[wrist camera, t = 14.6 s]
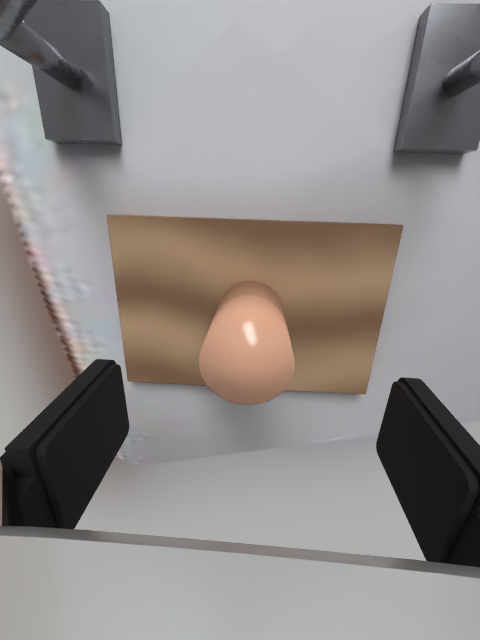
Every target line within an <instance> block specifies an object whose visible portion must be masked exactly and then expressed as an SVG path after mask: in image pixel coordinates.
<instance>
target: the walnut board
mask: <svg viewBox="0 0 480 640" xmlns="http://www.w3.org/2000/svg"><path fill="white" fill-rule="evenodd" d="M107 222H108V230H109V238H110V246H111V253H112V261H113V269H114V277H115V285H116V293H117V301H118V308H119V316H120V324H121V332H122V340H123V348H124V356H125V363H126V371H127V379H128V381H133V382H151V383H169V384H188V385H206V383H205V382H204V380H203V378H202V375H201V373H200V369H199V355H200V351H201V348H202V346H203V343H204V340H205V338H206V335H207V333H208V330H209V328H210V325H211V323H212V320H213V317H214V315H215V312H216V310H217V307H218V305H219V302H220V300H221V298H222V296H223V294H224V293H225V292H226V291H227V290H228V289H229V288H230V287H231V286H233V285H235V284H237V283H239V282H243V281H257V282H261V283H264V284H266V285H268V286H269V287H271V288H272V289H273V290H274V291H275V292H276V293H277V295H278V296H279V298H280V300H281V302H282V306H283V311H284V315H285V319H286V324H287V328H288V332H289V337H290V341H291V346H292V350H293V354H294V360H295V369H294V374H293V376H292V379H291V381H290V383H289V384H288V386H287V387H286V388H285V390H297V391H315V392H334V393H352V394H366V390H367V386H368V381H369V377H370V373H371V368H372V364H373V359H374V355H375V350H376V346H377V341H378V337H379V332H380V328H381V323H382V319H383V314H384V310H385V305H386V301H387V296H388V292H389V287H390V283H391V278H392V274H393V269H394V265H395V260H396V256H397V251H398V247H399V242H400V238H401V233H402V229H403V225H395V224H367V223H338V222H309V221H280V220H252V219H223V218H194V217H166V216H137V215H107ZM206 386H207V385H206Z"/></svg>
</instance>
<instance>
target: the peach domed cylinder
mask: <svg viewBox="0 0 480 640" xmlns="http://www.w3.org/2000/svg"><path fill="white" fill-rule="evenodd" d="M199 369H200V373H201V375H202V378H203V380H204V382H205V383H206V385H207V386H208V387H209V388H210V389H211V390H212V391H213V392H214V393H215V394H216V395H218V396H219V397H221V398H223V399H225V400H227V401H230V402H232V403H237V404H243V405H253V404H259V403H263V402H266V401H269V400H271V399H273V398H275V397H276V396H278V395H279V394H280V393H282V392H283V391H284V390H285V388H286V387H287V386H288V384H289V383H290V381H291V379H292V376H293V374H294V369H295V360H294V354H293V350H292V346H291V341H290V337H289V332H288V328H287V324H286V319H285V315H284V311H283V306H282V302H281V300H280V298H279V296H278V295H277V293H276V292H275V291H274V290H273V289H272V288H271V287H269V286H268V285H266V284H264V283H261V282H257V281H243V282H239V283H237V284H235V285H233V286H231V287H230V288H229V289H228V290H227V291H226V292H225V293H224V294H223V296H222V298H221V300H220V302H219V305H218V307H217V310H216V312H215V315H214V317H213V320H212V323H211V325H210V328H209V330H208V333H207V335H206V338H205V340H204V343H203V346H202V348H201V351H200V355H199Z"/></svg>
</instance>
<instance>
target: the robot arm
mask: <svg viewBox="0 0 480 640" xmlns="http://www.w3.org/2000/svg"><path fill="white" fill-rule="evenodd" d="M128 431H129V421H128V414H127V407H126V400H125V393H124V386H123V380H122V373H121V367H120V365H118V364H116V362H115V361H114V360H103V359H96V360H95V361H94V362H93V363H92V364H91V365H90V366H88V367H87V368H86V369H85V370H84V371H83V372H82V373H81V374H80V375H79V376H78V377H77V378H76V379H75V380H74V381H73V382H72V383H71V384H70V385H69V386H68V387H67V388H66V389H65V390H64V391H63V392H62V393H61V394H60V395H59V396H58V397H57V398H56V399H55V400H54V401H53V402H52V403H50V405H48V406H47V407H46V408H45V409H44V410H43V411H42V412H41V413H40V414H39V415H38V416H37V417H36V418H35V419H34V420H33V421H32V422H31V423H30V424H29V425H28V426H27V427H26V428H25V429H24V430H23V431H22V432H21V433H20V434H19V435H18V436H17V437H16V438H15V439H14V440H13V441H12V442H10V443H9V444H8V445H7V446H6V448H5V451H6V452H5V453H4V454H3V455H2V456H1V457H0V640H480V445H479V444H478V443H477V442H476V441H475V440H474V439H473V437H471V435H470V434H469V433H468V432H467V431H466V430H465V428H464V427H463V426H462V425H461V424H460V423H459V422H458V421H457V419H456V418H455V417H454V416H453V415H452V414H451V413H450V411H449V410H448V409H447V408H446V407H445V406H444V405H443V404H442V402H441V401H440V400H439V399H438V398H437V397H436V396H435V395H434V393H433V392H432V391H431V390H430V389H429V388H428V387H427V386H426V384H425V383H424V382H423V381H422V380H421V379H416V378H400V379H399V380H398V382H394V383H393V385H392V388H391V391H390V395H389V399H388V402H387V406H386V410H385V413H384V417H383V421H382V424H381V428H380V432H379V435H378V439H377V443H376V448H377V453H378V455H379V458H380V460H381V462H382V465H383V467H384V469H385V471H386V473H387V475H388V477H389V480H390V482H391V484H392V486H393V489H394V491H395V493H396V495H397V497H398V500H399V502H400V504H401V506H402V508H403V511H404V513H405V515H406V517H407V519H408V521H409V523H410V526H411V528H412V530H413V532H414V534H415V537H416V539H417V541H418V543H419V545H420V548H421V550H422V552H423V554H424V557H425V558H426V560H427V561H420V560H411V559H400V558H390V557H380V556H369V555H359V554H349V553H338V552H328V551H318V550H307V549H295V548H285V547H274V546H263V545H252V544H241V543H230V542H219V541H208V540H197V539H186V538H174V537H162V536H149V535H138V534H126V533H114V532H103V531H91V530H75V529H74V528H75V527H76V525H77V523H78V521H79V520H80V518H81V516H82V514H83V513H84V511H85V509H86V507H87V505H88V504H89V502H90V500H91V498H92V497H93V495H94V493H95V491H96V490H97V488H98V486H99V484H100V483H101V481H102V479H103V477H104V475H105V474H106V472H107V470H108V468H109V467H110V465H111V463H112V461H113V459H114V458H115V456H116V454H117V452H118V451H119V449H120V447H121V445H122V444H123V442H124V440H125V438H126V437H127V434H128Z"/></svg>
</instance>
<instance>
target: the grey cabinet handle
mask: <svg viewBox="0 0 480 640" xmlns="http://www.w3.org/2000/svg"><path fill="white" fill-rule="evenodd" d="M23 20H24V23H25V24H24V23H23V22H22V21H23ZM0 45H1V46H2V47H4V48H6V49H7V50H9V51H10V52H12V53H14V54H15V55H17V56H18V57H20V58H22V59H23V60H25V61H26V62H28V63H30V64H31V65H32V67H33V73H34V78H35V84H36V89H37V95H38V100H39V106H40V111H41V117H42V122H43V128H44V133H45V139H47V140H50V141H53V142H56V143H91V144H122V140H121V130H120V120H119V110H118V100H117V91H116V81H115V71H114V61H113V51H112V41H111V31H110V21H109V13H108V11H107V10H106V9H105V7H104V6H103V5H102V3H101V2H100V1H99V0H0ZM479 141H480V4H448V3H431V4H430V5H429V6H428V8H427V9H426V10H425V11H424V12H423V13H422V14H421V16H420V19H419V24H418V30H417V35H416V40H415V45H414V50H413V55H412V60H411V66H410V71H409V76H408V81H407V86H406V91H405V96H404V101H403V107H402V112H401V117H400V122H399V127H398V132H397V137H396V143H395V148H394V151H395V152H433V153H468V152H472V151H476V150H477V148H478V144H479Z"/></svg>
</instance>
